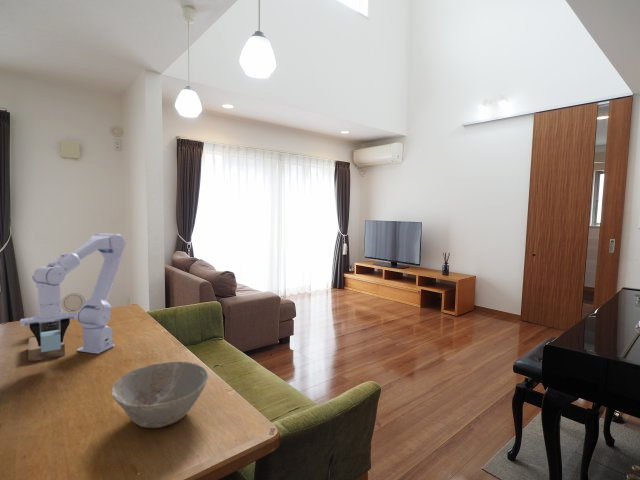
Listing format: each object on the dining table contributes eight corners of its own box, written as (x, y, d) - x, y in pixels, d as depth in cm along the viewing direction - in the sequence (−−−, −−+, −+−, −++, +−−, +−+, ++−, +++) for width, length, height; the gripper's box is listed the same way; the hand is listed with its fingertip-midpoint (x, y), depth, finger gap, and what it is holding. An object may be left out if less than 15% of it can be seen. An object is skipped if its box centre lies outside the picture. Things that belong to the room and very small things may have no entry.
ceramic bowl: (179, 386, 104) (179, 354, 103) (224, 416, 90) (225, 379, 89) (96, 418, 87) (96, 380, 86) (136, 462, 72) (135, 417, 72)
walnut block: (63, 342, 134) (62, 332, 133) (64, 354, 123) (64, 344, 122) (29, 348, 127) (29, 337, 127) (28, 361, 116) (27, 350, 116)
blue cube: (60, 344, 116) (59, 329, 116) (60, 348, 112) (60, 334, 112) (41, 347, 113) (40, 332, 113) (41, 352, 109) (40, 337, 109)
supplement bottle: (51, 336, 140) (51, 307, 139) (35, 335, 140) (34, 306, 139) (64, 330, 147) (64, 303, 146) (49, 329, 147) (48, 302, 146)
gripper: (19, 309, 104) (20, 352, 105) (77, 302, 113) (78, 342, 114) (20, 303, 109) (22, 345, 110) (76, 298, 119) (76, 336, 120)
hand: (50, 343), depth 113 cm, fingers closed on blue cube, 5 cm apart
